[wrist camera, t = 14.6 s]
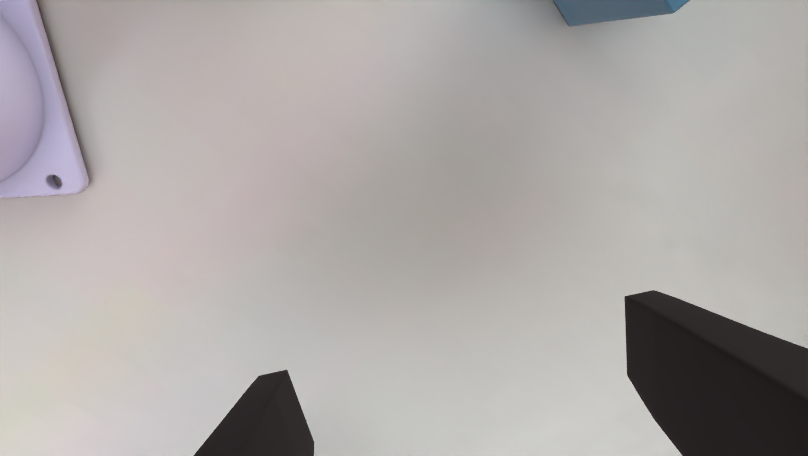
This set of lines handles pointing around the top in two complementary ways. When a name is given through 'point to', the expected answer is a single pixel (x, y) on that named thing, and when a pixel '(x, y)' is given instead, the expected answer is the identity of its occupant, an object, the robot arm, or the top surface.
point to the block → (614, 9)
